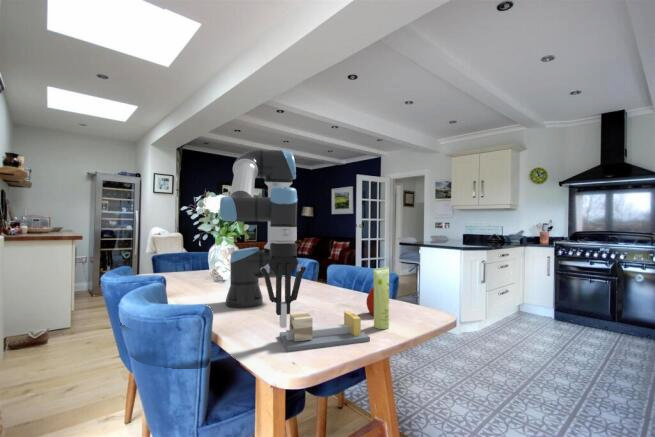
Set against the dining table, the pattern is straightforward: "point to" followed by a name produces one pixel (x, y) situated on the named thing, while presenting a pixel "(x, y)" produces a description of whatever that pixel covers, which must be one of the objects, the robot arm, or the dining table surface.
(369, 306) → the apple
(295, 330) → the beige wooden sliding block
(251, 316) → the dining table surface
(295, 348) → the rail board
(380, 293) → the tube
